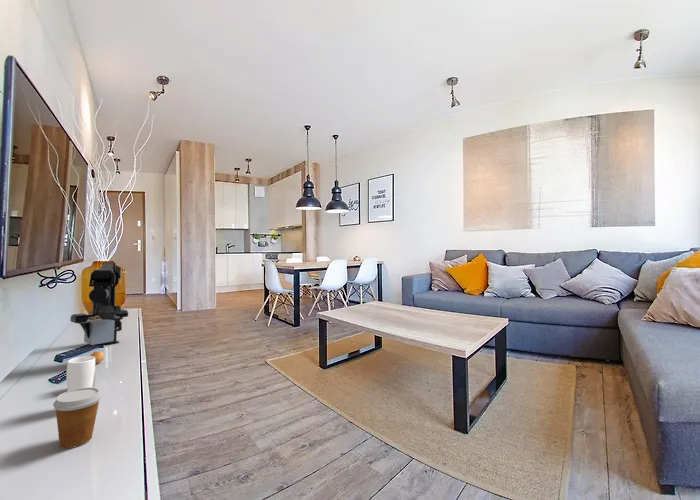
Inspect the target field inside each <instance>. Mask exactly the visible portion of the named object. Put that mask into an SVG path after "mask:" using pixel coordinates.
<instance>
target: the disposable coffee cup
mask: <svg viewBox="0 0 700 500" xmlns="http://www.w3.org/2000/svg"><path fill="white" fill-rule="evenodd" d="M102 396H103V394H102V392H101V391H100V389H99V388H98V387H96V388H94V387H87V388H79V389H74V390H71V391H68V392H67V391H64V392H63V393H61V394H59V395H58V396H57V397H56V398H55V401H54V402H53V404H52V406H53V408H54V409H55V415H56V423H57V426H56V427H57V431H58V433H57V434H58V442H59V443H58V444H59V447H60V448H61V447H62V448H61V449H71V448H70V447H74V446H78V445H81V444H83V445H85V444H87V443H88V442H90V441H91V440H92V439H91V438H93V435H94V428H95V424H96V419H97V414H98V408H99V402H100V400H101V398H102ZM90 439H91V440H90ZM89 440H90V441H89ZM87 441H88V442H87ZM86 442H87V443H86ZM84 443H85V444H84ZM81 446H82V445H81ZM78 447H79V446H78ZM74 448H75V447H74Z"/></svg>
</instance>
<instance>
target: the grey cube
mask: <svg viewBox="0 0 700 500" xmlns="http://www.w3.org/2000/svg"><path fill="white" fill-rule="evenodd" d="M88 322H90V325H89V332H90V335H89V338H87V337H86V334H85V333H84V336H83V341H84V343H87V344H89V345H91V346H94V345H98V344H99V345H100V344H101V343H106V342H111V341H114V327H115V320H112V319H109V318H108V319H101V318H95V319H88Z"/></svg>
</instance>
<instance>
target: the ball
mask: <svg viewBox="0 0 700 500" xmlns="http://www.w3.org/2000/svg"><path fill="white" fill-rule="evenodd" d="M89 356H93V357H95V365H97V364H99V363H101V362H102V361H103V360H104V357H105V355H104V353H103V352H101V351H93V352H92V353H91V354H90V355H89Z"/></svg>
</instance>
